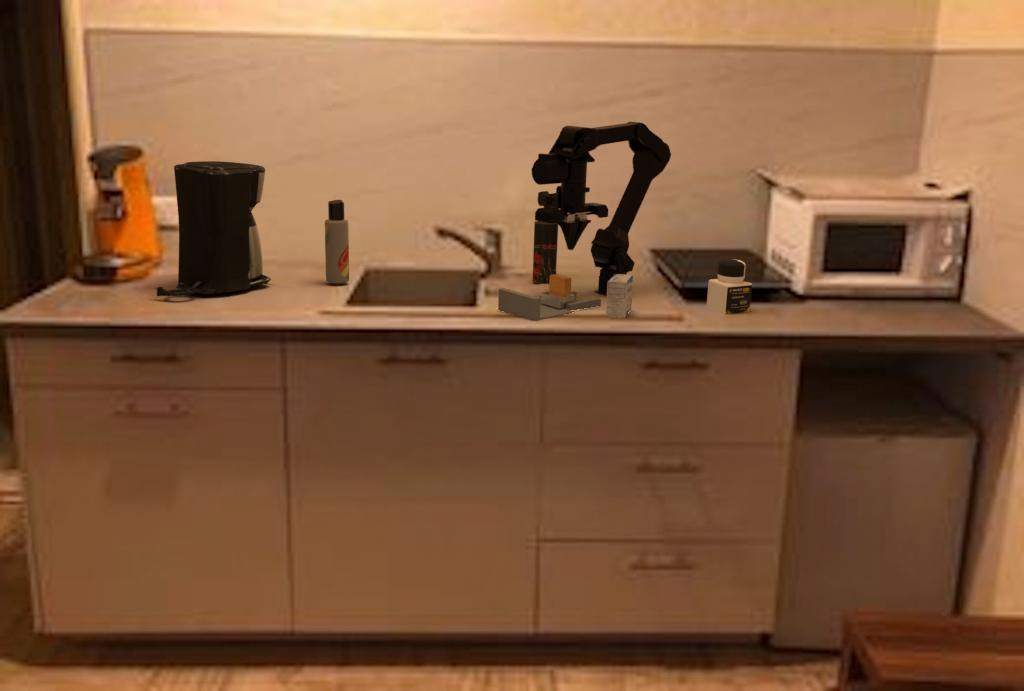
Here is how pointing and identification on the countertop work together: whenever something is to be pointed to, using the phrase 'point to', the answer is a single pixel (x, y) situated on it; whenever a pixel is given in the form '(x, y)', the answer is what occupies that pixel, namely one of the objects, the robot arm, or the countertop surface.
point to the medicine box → (619, 295)
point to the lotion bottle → (336, 244)
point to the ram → (558, 292)
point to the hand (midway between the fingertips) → (570, 249)
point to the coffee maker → (217, 227)
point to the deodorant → (544, 251)
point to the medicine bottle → (729, 289)
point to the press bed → (537, 305)
